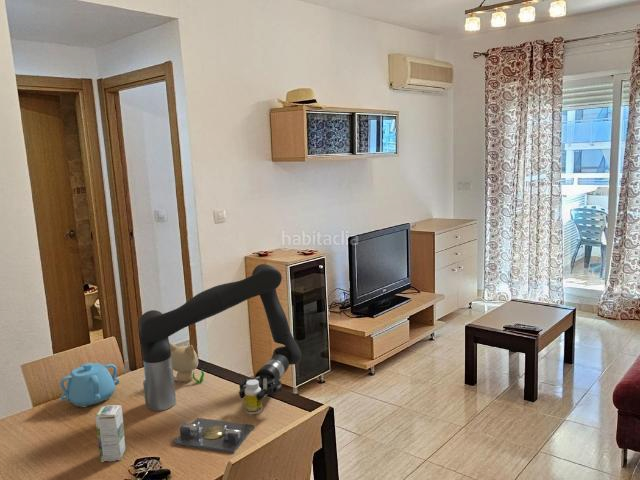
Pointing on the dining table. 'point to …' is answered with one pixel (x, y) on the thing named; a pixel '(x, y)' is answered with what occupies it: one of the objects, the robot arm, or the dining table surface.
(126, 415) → the dining table surface
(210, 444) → the base
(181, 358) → the kitten
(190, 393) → the dining table surface
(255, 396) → the supplement bottle
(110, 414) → the syrup box
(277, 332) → the robot arm
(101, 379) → the decorative pot
